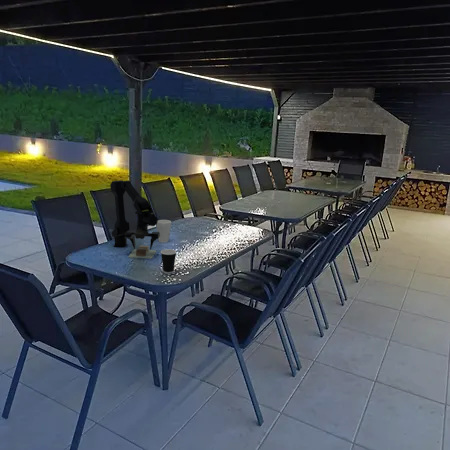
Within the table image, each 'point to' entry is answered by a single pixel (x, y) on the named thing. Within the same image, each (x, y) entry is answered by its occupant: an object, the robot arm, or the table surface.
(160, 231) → the foam cup
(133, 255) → the mat
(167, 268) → the dixie cup
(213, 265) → the table surface
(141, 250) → the two-tone brown block
